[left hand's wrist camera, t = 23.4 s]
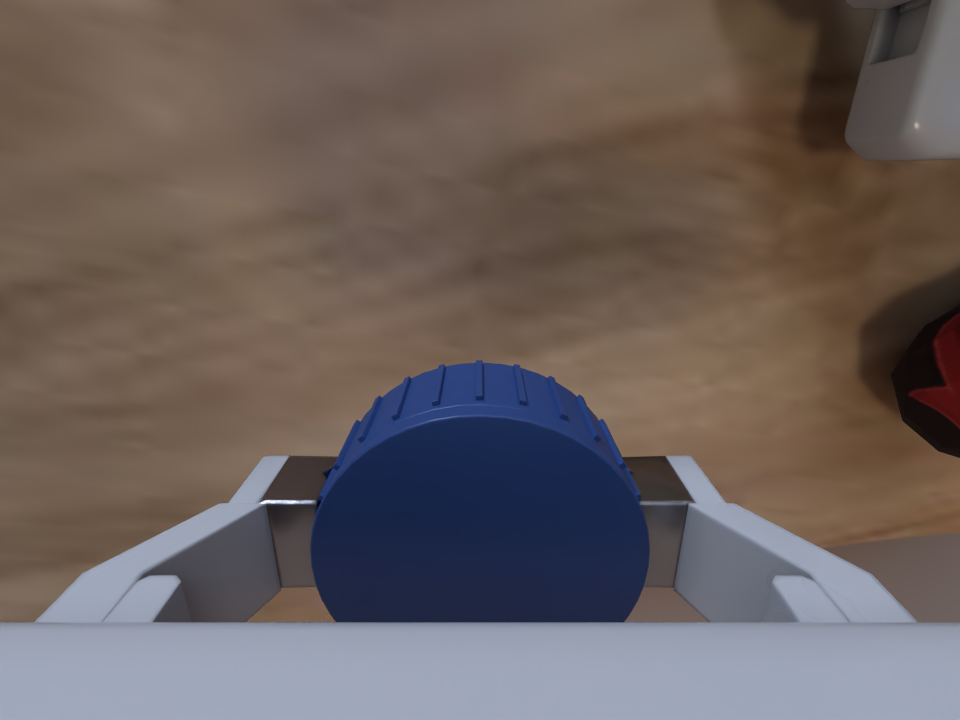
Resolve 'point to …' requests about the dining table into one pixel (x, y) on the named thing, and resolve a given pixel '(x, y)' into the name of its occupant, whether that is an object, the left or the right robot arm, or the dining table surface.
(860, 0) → the right robot arm
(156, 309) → the dining table surface
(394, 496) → the lid
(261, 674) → the left robot arm
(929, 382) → the toy
